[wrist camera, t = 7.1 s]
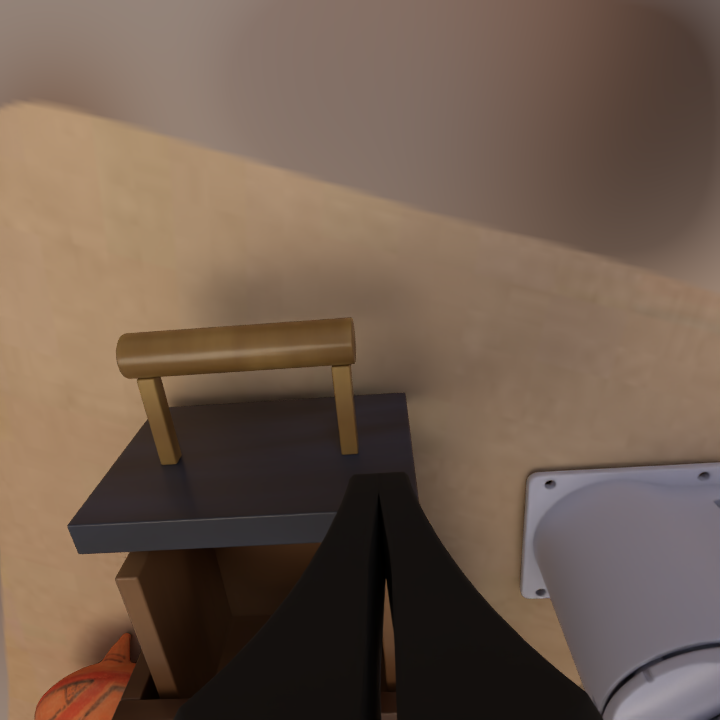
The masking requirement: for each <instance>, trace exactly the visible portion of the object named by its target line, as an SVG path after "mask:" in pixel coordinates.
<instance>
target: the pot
mask: <svg viewBox="0 0 720 720" xmlns="http://www.w3.org/2000/svg"><path fill="white" fill-rule="evenodd" d="M130 638H131V635H130V634H129V633H125V634H123V635H122V636H121V638H120V639H119V640H118V641H117V642H116V643H115V644H114V645H113V646H112V648H111V649H110V650H109V652H108V653H107V654H106V656H105V657H104V659H103V660H102V661H101V662H100V663H98V664H94V665H90V666H88V667H85V668H82V669H80V670H78V671H76V672H74V673H72V674H70V675H68V676H67V677H65V678H63V679H62V680H60V681H59V682H58V683H56V684H55V685H54V686H53V687H51V688H50V689H49V690H48V691H47V692H46V693H45V694H44V695H43V697H42V698H41V699H40V701H39V703H38V705H37V707H36V711H35V720H112V717H113V715H114V713H115V710H116V708H117V706H118V704H119V701H121V697H122V695H123V692H124V690H125V688H126V685H127V683H128V681H129V679H130V676H131V674H132V672H133V669H134V667H135V665H136V663H132V662H131V661H130Z"/></svg>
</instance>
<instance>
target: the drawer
mask: <svg viewBox="0 0 720 720" xmlns="http://www.w3.org/2000/svg"><path fill="white" fill-rule="evenodd" d="M116 358H117V364H118V367H119V370H120V372H121V373H122V375H123V376H124V377H126V378H128V379H134V378H138V379H137V383H138V387H139V390H140V394H141V397H142V400H143V404H144V407H145V411H146V414H147V418H148V419H147V421H146V422H145V423H144V425H143V426H142V427H141V429H140V430H139V431H138V433H137V434H136V435H135V436H134V438H133V439H132V440H131V442H130V443H129V444H128V446H127V447H126V448H125V450H124V451H123V452H122V454H121V455H120V456H119V458H118V459H117V460H116V462H115V463H114V464H113V466H112V467H111V468H110V470H109V471H108V472H107V474H106V475H105V476H104V478H103V479H102V480H101V482H100V483H99V484H98V486H97V487H96V488H95V490H94V491H93V492H92V494H91V495H90V496H89V498H88V499H87V500H86V502H85V503H84V504H83V505H82V507H81V508H80V509H79V511H78V512H77V513H76V515H75V516H74V517H73V519H72V520H71V521H70V523H69V524H68V529H69V532H70V534H71V537H72V539H73V542H74V544H75V547H76V549H77V551H78V554H94V553H115V552H130V553H129V555H128V556H127V558H126V560H125V562H124V563H123V565H122V567H121V569H120V571H119V572H118V574H117V576H116V578H115V581H116V583H117V586H118V588H119V591H120V594H121V596H122V599H123V602H124V604H125V607H126V609H127V612H128V615H129V617H130V620H131V623H132V625H133V628H134V630H135V633H136V636H137V638H138V641H139V644H140V646H141V649H142V651H143V654H144V657H145V659H146V662H147V665H148V667H149V670H150V672H151V675H152V678H153V680H154V683H155V686H156V688H157V691H158V693H159V696H160V699H182V698H191V697H192V696H193V695H194V694H195V693H197V692H198V691H199V690H200V689H201V688H202V687H203V686H204V685H205V684H206V683H208V682H209V681H210V680H211V679H212V678H213V677H214V676H215V675H216V674H218V673H219V672H220V671H221V670H222V669H223V668H224V667H225V666H226V665H227V664H228V663H229V662H230V661H231V660H232V659H233V658H234V657H235V656H236V655H237V653H238V652H239V651H240V650H241V649H242V648H243V647H244V646H245V645H246V644H247V643H248V642H249V641H250V640H251V639H252V638H253V637H254V636H255V634H256V633H257V632H258V631H259V630H260V629H261V628H262V627H263V625H264V624H265V623H266V622H267V621H268V620H269V618H270V617H271V616H272V615H273V613H274V612H275V611H276V609H277V608H278V607H279V606H280V604H281V603H282V602H283V601H284V599H285V598H286V597H287V595H288V594H289V593H290V591H291V590H292V589H293V587H294V586H295V584H296V583H297V581H298V580H299V579H300V577H301V576H302V574H303V573H304V571H305V569H306V568H307V566H308V565H309V563H310V562H311V560H312V558H313V556H314V555H315V553H316V551H317V550H318V548H319V546H320V544H321V543H322V541H323V539H324V537H325V536H326V534H327V532H328V530H329V528H330V526H331V524H332V522H333V520H334V518H335V516H336V514H337V511H338V509H339V507H340V504H341V502H342V500H343V497H344V495H345V492H346V489H347V486H348V483H349V479H350V478H351V477H352V476H353V475H354V474H371V473H388V472H405V473H406V474H407V475H409V479H410V483H411V486H412V488H413V491H414V493H415V495H416V498H417V500H418V502H419V498H418V490H417V482H416V474H415V466H414V458H413V450H412V442H411V434H410V426H409V418H408V410H407V402H406V394H405V393H404V392H403V393H387V394H372V395H356V396H354V392H353V382H352V372H351V364H355V362H356V344H355V331H354V323H353V319H352V318H351V317H350V318H336V319H322V320H308V321H294V322H280V323H266V324H252V325H237V326H223V327H209V328H195V329H181V330H167V331H153V332H139V333H126V334H123V335H122V336H121V337H120V338H119V340H118V343H117V348H116ZM331 365H332V368H331V369H332V377H333V386H334V395H335V397H324V398H308V399H292V400H276V401H260V402H244V403H229V404H213V405H197V406H181V407H169V406H168V402H167V399H166V395H165V391H164V388H163V384H162V380H161V377H164V376H180V375H195V374H210V373H225V372H240V371H255V370H270V369H285V368H300V367H316V366H331ZM381 692H396V675H395V646H394V632H393V625H392V618H391V611H390V604H389V596H388V589H387V582H386V584H385V603H384V621H383V639H382V657H381Z"/></svg>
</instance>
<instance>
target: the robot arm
mask: <svg viewBox="0 0 720 720" xmlns="http://www.w3.org/2000/svg"><path fill="white" fill-rule="evenodd" d="M703 472H704V474H702V475H700V476H699V474H701V473H703ZM549 480H553V481H552V482H551V483H549V484H545V483H546V482H547V481H549ZM386 582H387V589H388V596H389V604H390V611H391V618H392V625H393V632H394V646H395V675H396V706H397V720H720V462H714V463H696V464H677V465H659V466H640V467H622V468H603V469H585V470H567V471H548V472H536V473H533V474H531V475H530V476H529V477H528V478H527V482H526V497H525V513H524V529H523V545H522V561H521V577H520V591H521V594H522V596H523V597H525V598H528V599H537V598H550V599H551V601H552V604H553V607H554V609H555V612H556V615H557V617H558V620H559V623H560V625H561V628H562V631H563V633H564V636H565V639H566V641H567V644H568V647H569V649H570V652H571V655H572V657H573V660H574V663H575V665H576V668H577V671H578V673H579V676H580V679H581V681H582V684H583V687H584V689H585V691H584V690H582V689H581V688H580V687H579V686H577V685H576V684H575V683H574V682H572V681H571V680H570V679H569V678H567V677H566V676H565V675H564V674H562V673H561V672H560V671H559V670H558V669H556V668H555V667H554V666H553V665H552V664H550V663H549V662H548V661H547V660H546V659H545V658H544V657H542V656H541V655H540V654H539V653H538V652H537V651H536V650H535V649H534V648H533V647H531V646H530V645H529V644H528V643H527V642H526V641H525V640H524V639H523V638H522V637H521V636H520V635H519V634H518V633H517V632H516V631H515V630H514V629H513V628H512V627H511V626H510V625H509V624H508V623H507V622H506V621H505V620H504V619H503V618H502V617H501V616H500V615H499V614H498V613H497V612H496V611H495V610H494V609H493V608H492V607H491V606H490V605H489V603H488V602H487V601H486V600H485V599H484V598H483V597H482V595H481V594H480V593H479V592H478V591H477V590H476V588H475V587H474V586H473V585H472V583H471V582H470V581H469V580H468V579H467V577H466V576H465V575H464V573H463V572H462V571H461V570H460V568H459V567H458V565H457V564H456V563H455V561H454V560H453V559H452V557H451V556H450V554H449V553H448V551H447V550H446V548H445V547H444V545H443V544H442V542H441V541H440V539H439V538H438V536H437V535H436V533H435V531H434V529H433V528H432V526H431V524H430V523H429V521H428V519H427V517H426V516H425V514H424V512H423V510H422V508H421V506H420V504H419V502H418V500H417V498H416V495H415V493H414V491H413V488H412V486H411V483H410V479H409V475H407V474H406V473H405V472H388V473H371V474H354V475H353V476H352V477H351V478H350V479H349V483H348V486H347V489H346V492H345V495H344V497H343V500H342V502H341V504H340V507H339V509H338V511H337V514H336V516H335V518H334V520H333V522H332V524H331V526H330V528H329V530H328V532H327V534H326V536H325V537H324V539H323V541H322V543H321V544H320V546H319V548H318V550H317V551H316V553H315V555H314V556H313V558H312V560H311V562H310V563H309V565H308V566H307V568H306V569H305V571H304V573H303V574H302V576H301V577H300V579H299V580H298V581H297V583H296V584H295V586H294V587H293V589H292V590H291V591H290V593H289V594H288V595H287V597H286V598H285V599H284V601H283V602H282V603H281V604H280V606H279V607H278V608H277V609H276V611H275V612H274V613H273V615H272V616H271V617H270V618H269V620H268V621H267V622H266V623H265V624H264V625H263V627H262V628H261V629H260V630H259V631H258V632H257V633H256V634H255V636H254V637H253V638H252V639H251V640H250V641H249V642H248V643H247V644H246V645H245V646H244V647H243V648H242V649H241V650H240V651H239V652H238V653H237V655H236V656H235V657H234V658H233V659H232V660H231V661H230V662H229V663H228V664H227V665H226V666H225V667H224V668H223V669H222V670H221V671H220V672H219V673H218V674H216V675H215V676H214V677H213V678H212V679H211V680H210V681H209V682H208V683H206V684H205V685H204V686H203V687H202V688H201V689H200V690H199V691H198V692H197V693H195V694H194V695H193V696H192V697H191V698H190V699H189V700H188V701H187V702H185V703H184V704H183V705H182V706H181V707H179V709H178V711H177V713H176V715H175V717H174V719H173V720H381V657H382V639H383V621H384V603H385V584H386ZM538 589H539V590H538Z"/></svg>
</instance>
